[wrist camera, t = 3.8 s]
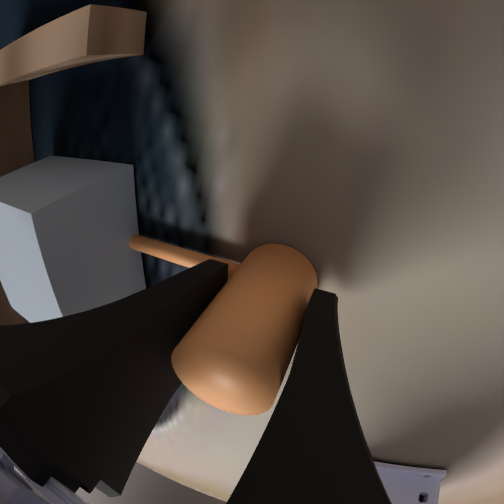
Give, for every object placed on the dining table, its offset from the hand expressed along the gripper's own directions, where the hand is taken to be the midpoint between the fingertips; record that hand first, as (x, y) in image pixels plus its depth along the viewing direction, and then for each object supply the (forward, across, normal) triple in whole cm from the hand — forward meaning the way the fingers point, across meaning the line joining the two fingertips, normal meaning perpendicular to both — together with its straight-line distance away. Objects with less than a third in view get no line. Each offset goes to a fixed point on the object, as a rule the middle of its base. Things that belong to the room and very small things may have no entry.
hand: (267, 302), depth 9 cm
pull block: (+1, +5, 0) cm, 5 cm away
